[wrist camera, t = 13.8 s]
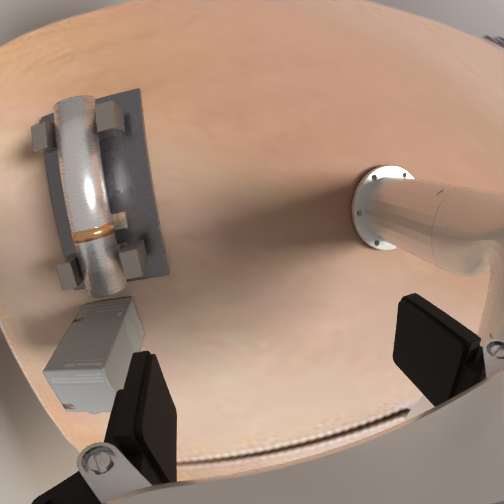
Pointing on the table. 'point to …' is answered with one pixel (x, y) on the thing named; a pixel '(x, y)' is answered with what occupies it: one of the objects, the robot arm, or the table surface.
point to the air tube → (87, 196)
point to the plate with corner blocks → (112, 189)
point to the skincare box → (95, 356)
